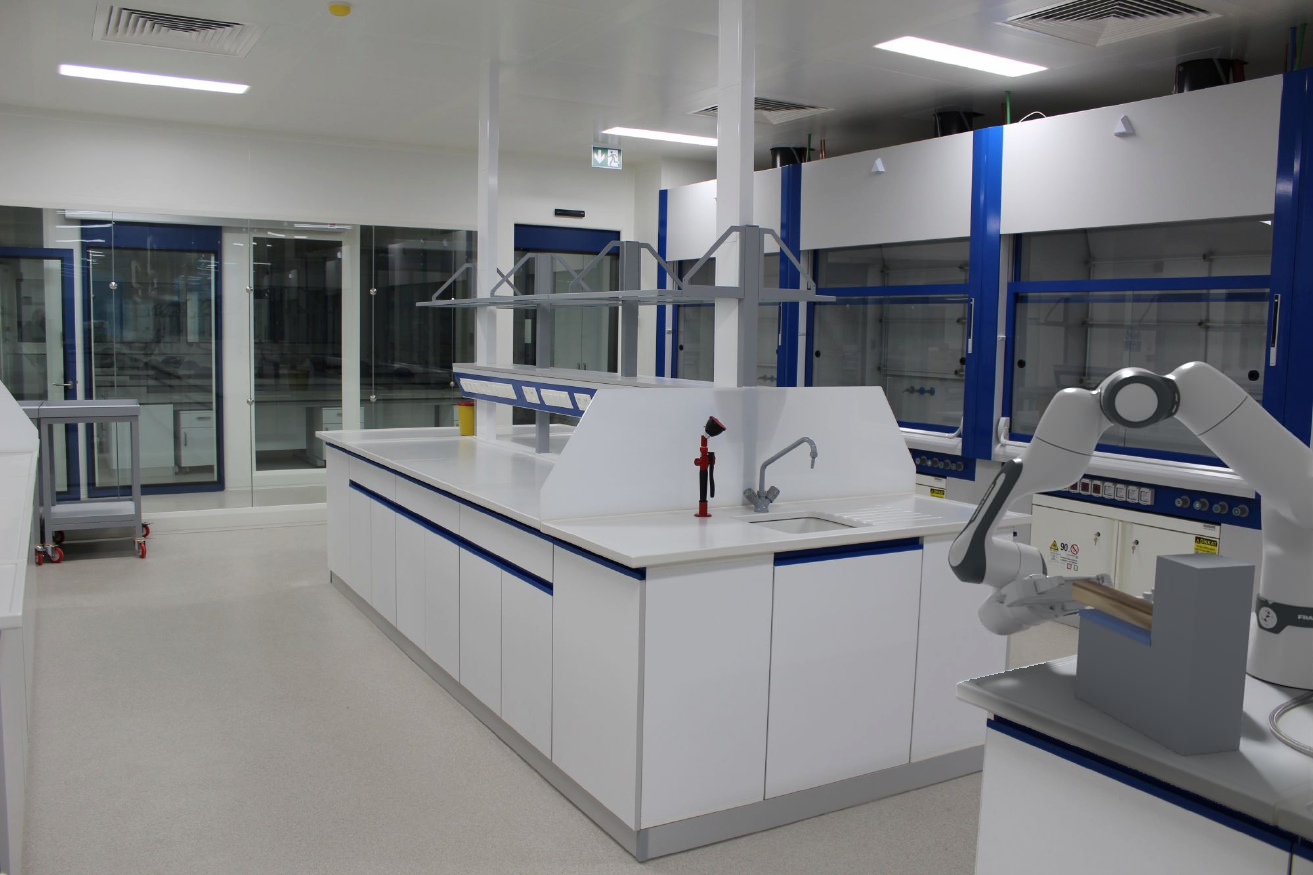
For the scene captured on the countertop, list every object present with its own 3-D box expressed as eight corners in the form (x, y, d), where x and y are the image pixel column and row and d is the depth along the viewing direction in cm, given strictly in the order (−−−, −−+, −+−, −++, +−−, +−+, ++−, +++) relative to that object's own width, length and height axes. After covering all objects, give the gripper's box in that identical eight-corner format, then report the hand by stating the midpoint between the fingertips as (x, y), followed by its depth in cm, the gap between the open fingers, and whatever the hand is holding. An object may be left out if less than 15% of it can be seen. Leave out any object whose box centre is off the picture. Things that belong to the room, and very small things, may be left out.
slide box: (1091, 597, 173) (1092, 580, 173) (1178, 632, 154) (1179, 613, 153) (1071, 598, 172) (1072, 581, 172) (1156, 633, 153) (1158, 614, 152)
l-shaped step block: (1125, 690, 170) (1136, 531, 166) (1240, 749, 146) (1256, 564, 143) (1073, 695, 167) (1083, 533, 164) (1182, 755, 144) (1197, 568, 141)
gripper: (985, 585, 182) (1027, 564, 170) (1079, 579, 188) (1127, 558, 175) (993, 618, 180) (1036, 599, 168) (1088, 612, 185) (1137, 593, 173)
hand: (1084, 578), depth 172 cm, fingers open, 8 cm apart
